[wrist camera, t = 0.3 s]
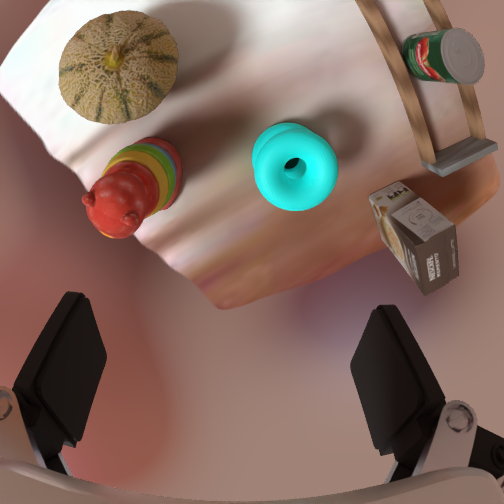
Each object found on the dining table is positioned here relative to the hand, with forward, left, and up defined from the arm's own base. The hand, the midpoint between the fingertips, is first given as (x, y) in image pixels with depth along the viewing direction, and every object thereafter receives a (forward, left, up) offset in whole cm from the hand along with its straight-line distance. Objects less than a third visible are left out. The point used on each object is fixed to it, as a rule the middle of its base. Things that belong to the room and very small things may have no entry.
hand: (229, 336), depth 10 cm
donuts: (+5, +5, -37) cm, 37 cm away
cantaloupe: (-17, -7, -37) cm, 41 cm away
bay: (+1, +32, -36) cm, 49 cm away
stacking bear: (-3, -13, -37) cm, 39 cm away
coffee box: (+21, +17, -37) cm, 46 cm away
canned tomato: (-1, +32, -37) cm, 49 cm away
